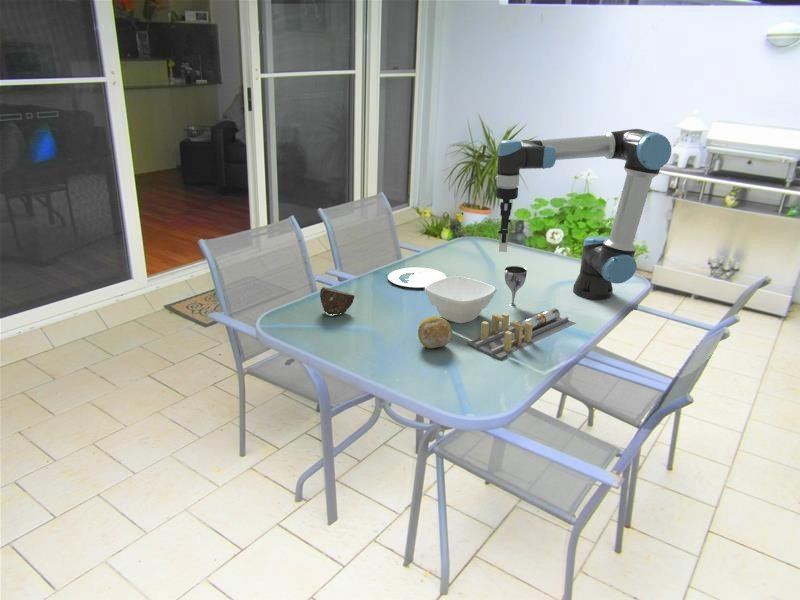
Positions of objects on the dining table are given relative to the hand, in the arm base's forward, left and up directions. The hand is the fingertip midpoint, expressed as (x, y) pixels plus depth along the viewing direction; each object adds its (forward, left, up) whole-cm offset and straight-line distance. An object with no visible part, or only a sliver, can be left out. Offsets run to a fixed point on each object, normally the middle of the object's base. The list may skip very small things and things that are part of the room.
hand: (503, 245), depth 214 cm
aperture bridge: (+4, +27, -25) cm, 37 cm away
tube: (-11, +16, -24) cm, 31 cm away
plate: (+27, -35, -26) cm, 51 cm away
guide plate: (-4, +22, -25) cm, 33 cm away
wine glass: (-6, -3, -25) cm, 26 cm away
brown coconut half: (+61, 0, -25) cm, 66 cm away
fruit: (+28, +29, -25) cm, 48 cm away
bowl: (+16, +6, -25) cm, 30 cm away
